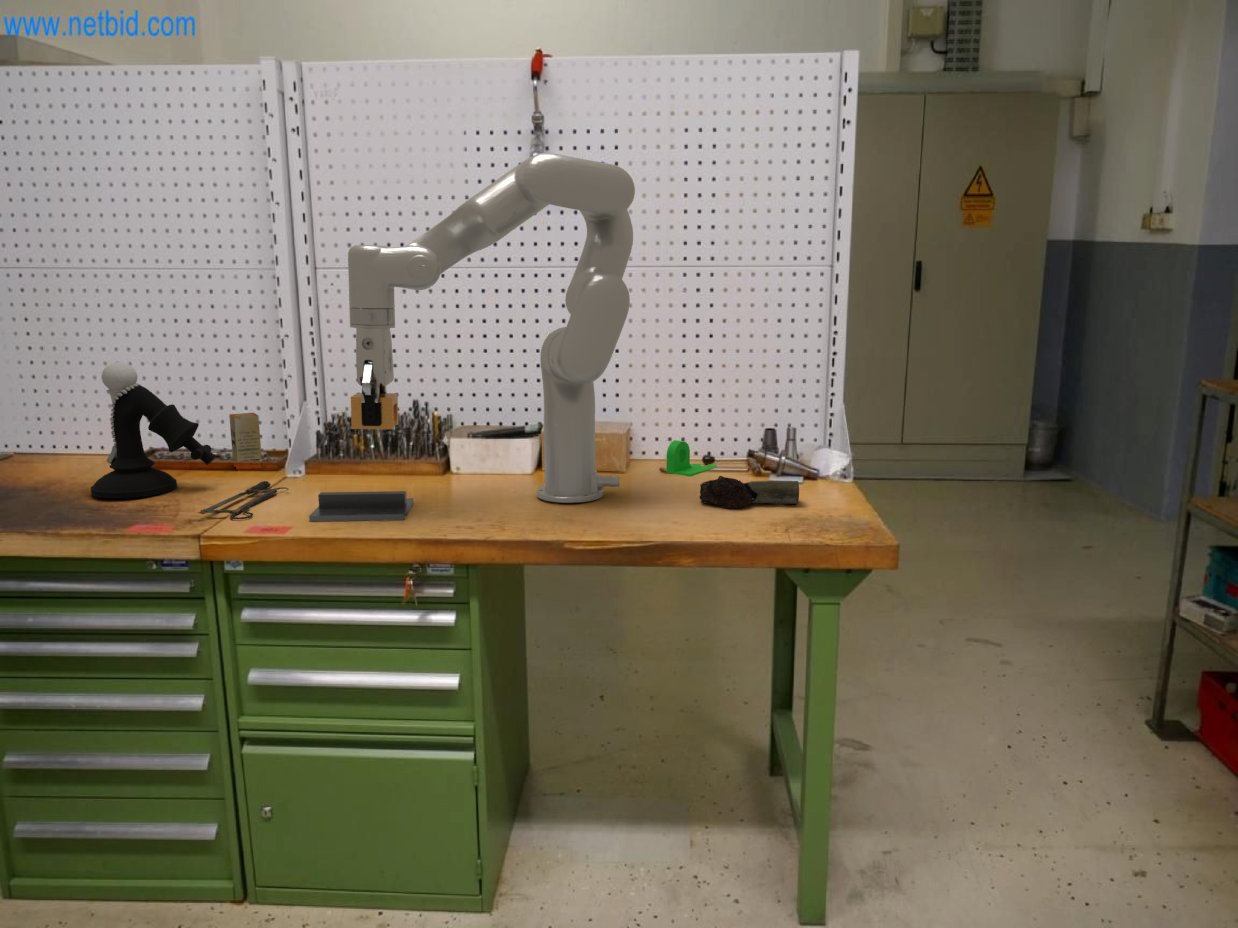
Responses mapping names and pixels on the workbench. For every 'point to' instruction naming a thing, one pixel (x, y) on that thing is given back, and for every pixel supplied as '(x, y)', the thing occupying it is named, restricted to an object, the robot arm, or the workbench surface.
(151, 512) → the workbench surface
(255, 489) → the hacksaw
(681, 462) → the mechanical part
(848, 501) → the workbench surface
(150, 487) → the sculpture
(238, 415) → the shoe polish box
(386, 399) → the tan wooden block
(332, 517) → the rail
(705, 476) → the workbench surface
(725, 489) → the dark elongated piece
